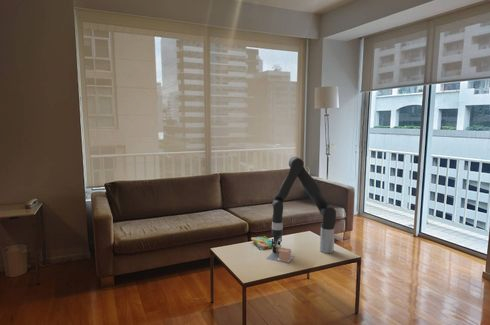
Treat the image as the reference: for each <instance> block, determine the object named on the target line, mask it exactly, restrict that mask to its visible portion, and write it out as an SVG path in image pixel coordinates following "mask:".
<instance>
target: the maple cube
mask: <svg viewBox="0 0 490 325" xmlns="http://www.w3.org/2000/svg"><path fill="white" fill-rule="evenodd" d="M275 245H276V244H275ZM281 248H282V244H280V245H278V244H277V246H276V252H275V253H279V250H280V249H281ZM271 251H272V252H273V247H272V248H271Z"/></svg>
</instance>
